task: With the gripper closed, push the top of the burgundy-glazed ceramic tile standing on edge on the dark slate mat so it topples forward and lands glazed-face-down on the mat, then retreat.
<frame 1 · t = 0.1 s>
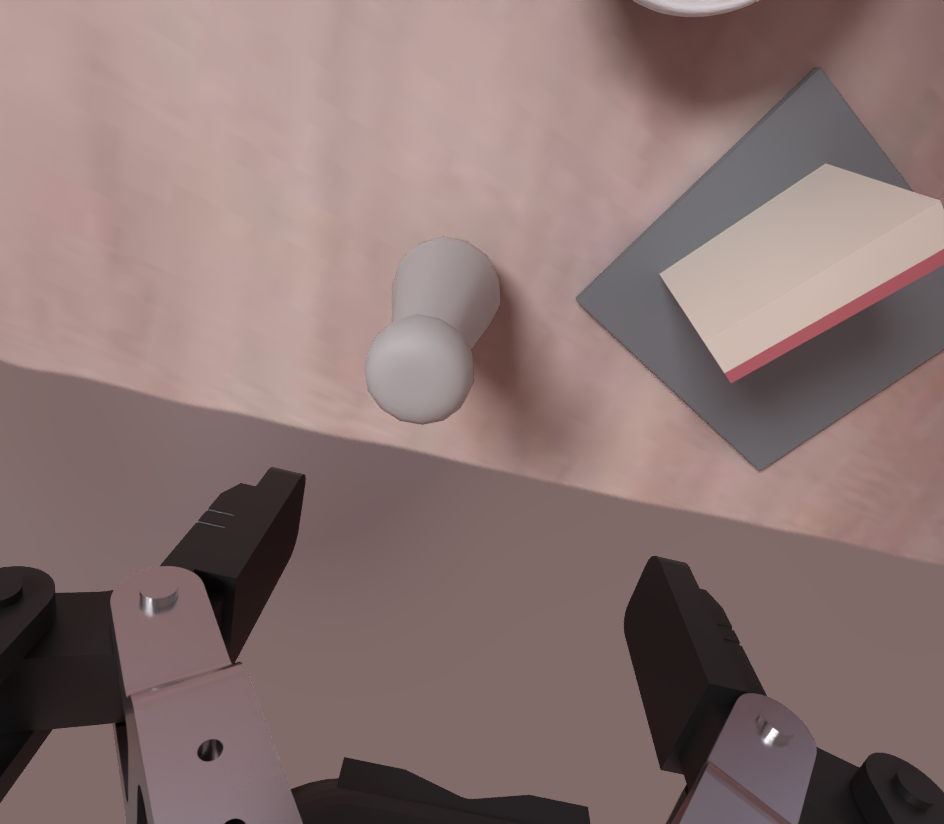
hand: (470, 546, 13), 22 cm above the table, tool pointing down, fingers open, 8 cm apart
slate mat: (780, 301, 32), on the table
tile: (748, 240, 30), point 1 cm above the table, touching slate mat
salt shaker: (451, 277, 33), on the table
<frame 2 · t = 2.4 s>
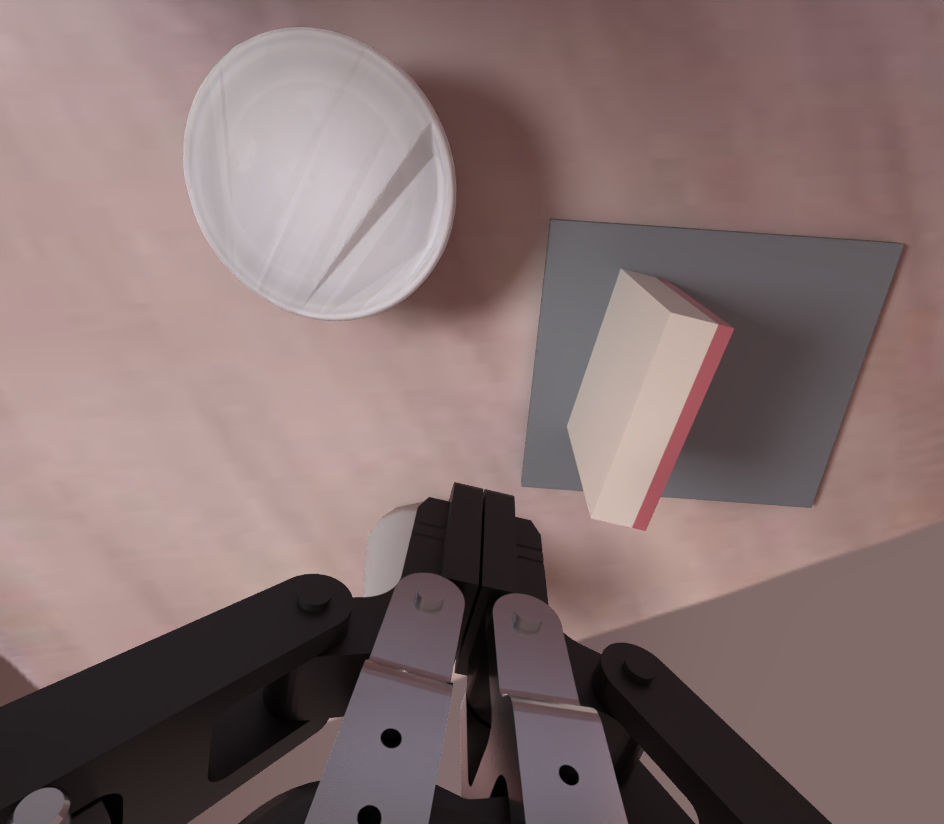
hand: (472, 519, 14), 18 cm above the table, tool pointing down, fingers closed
ramekin: (349, 183, 29), on the table
slate mat: (690, 373, 31), on the table
tile: (613, 357, 31), point 1 cm above the table, touching slate mat
salt shaker: (420, 527, 36), on the table
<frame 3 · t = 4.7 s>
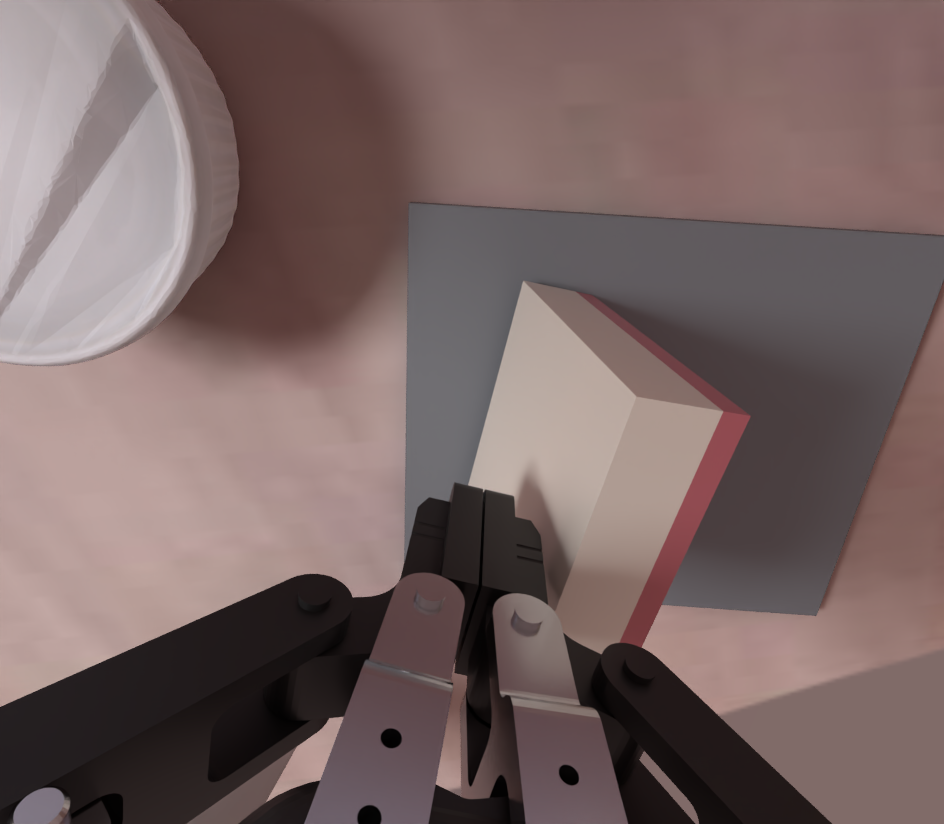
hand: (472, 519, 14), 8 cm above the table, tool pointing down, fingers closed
ramekin: (103, 148, 19), on the table
slate mat: (636, 430, 21), on the table
tile: (521, 412, 20), point 1 cm above the table, tilted 11°, touching gripper, slate mat
salt shaker: (275, 634, 26), on the table
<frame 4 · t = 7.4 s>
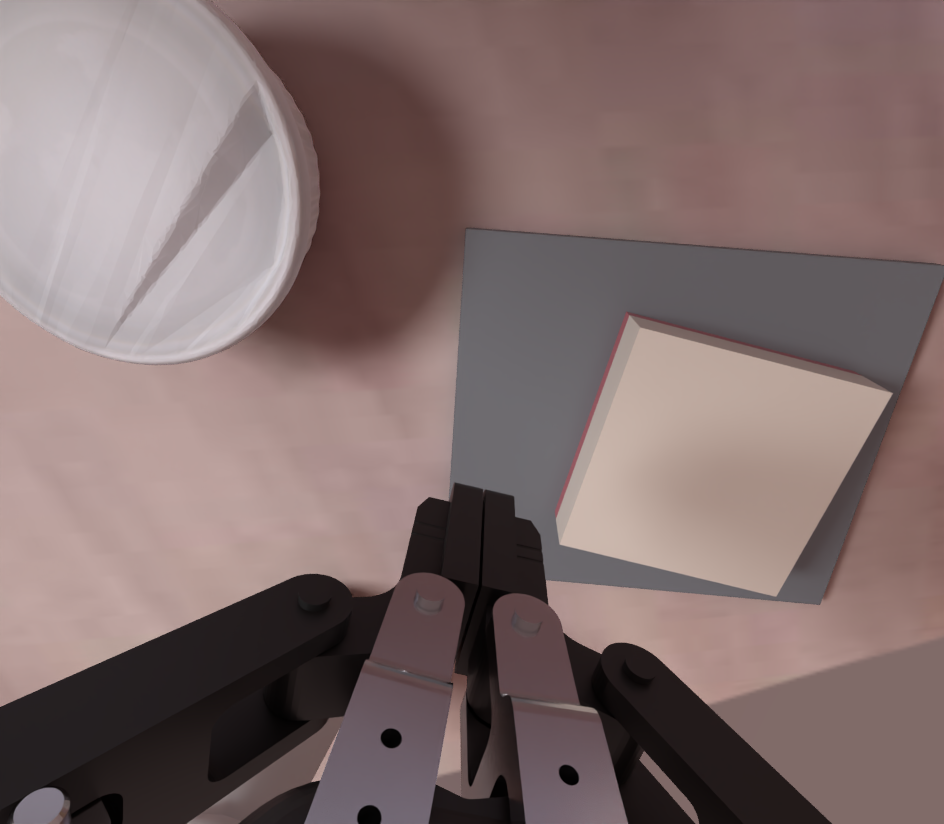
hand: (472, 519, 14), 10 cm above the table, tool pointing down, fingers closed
ramekin: (199, 177, 21), on the table
slate mat: (659, 432, 24), on the table
tile: (591, 431, 22), point 2 cm above the table, tilted 90°, touching slate mat
salt shaker: (322, 614, 29), on the table
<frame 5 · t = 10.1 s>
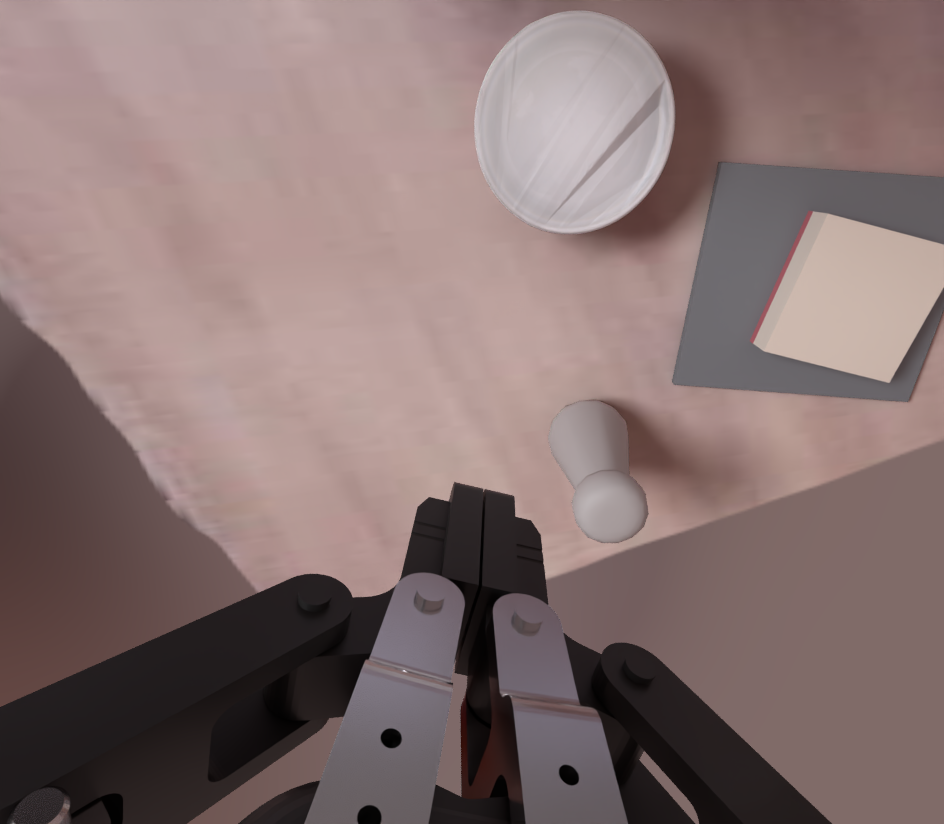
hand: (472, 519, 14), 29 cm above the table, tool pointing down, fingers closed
ramekin: (564, 134, 37), on the table
slate mat: (817, 288, 40), on the table
tile: (785, 282, 38), point 2 cm above the table, tilted 90°, touching slate mat
salt shaker: (583, 423, 45), on the table
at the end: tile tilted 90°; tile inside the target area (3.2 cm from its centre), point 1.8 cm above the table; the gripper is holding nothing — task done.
